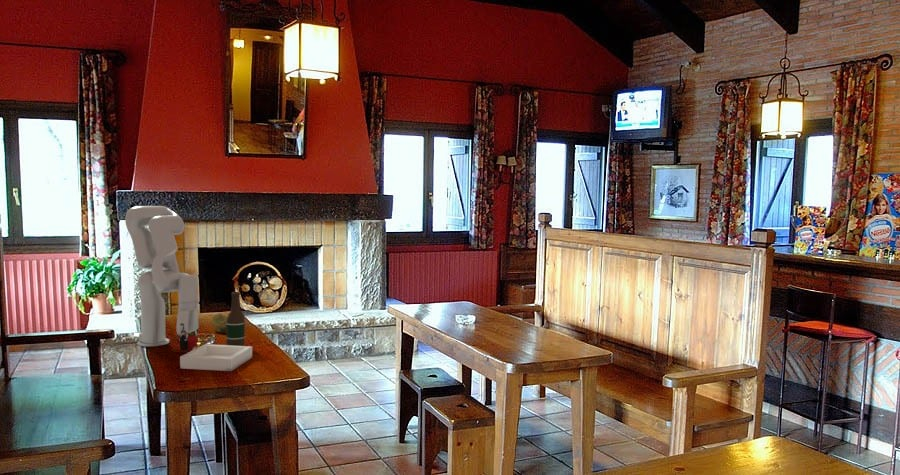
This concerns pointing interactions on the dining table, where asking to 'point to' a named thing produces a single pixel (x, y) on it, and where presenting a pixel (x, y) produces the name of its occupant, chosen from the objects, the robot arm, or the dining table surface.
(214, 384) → the dining table surface
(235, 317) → the beer bottle
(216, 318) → the potato
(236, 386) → the dining table surface
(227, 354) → the tray
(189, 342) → the strawberry
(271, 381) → the dining table surface
